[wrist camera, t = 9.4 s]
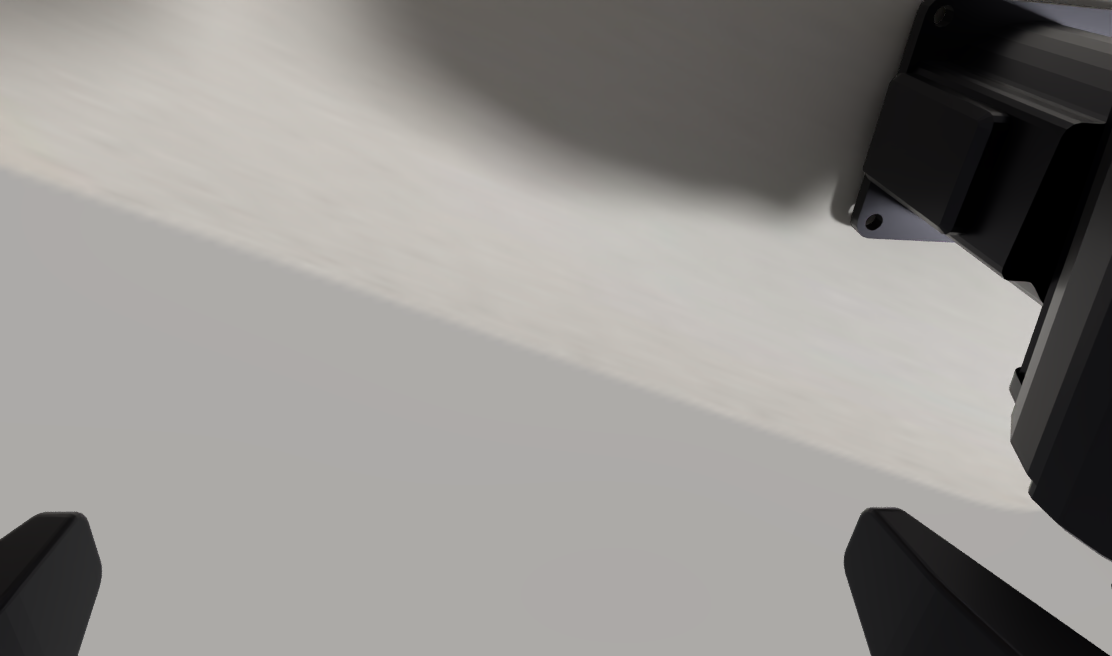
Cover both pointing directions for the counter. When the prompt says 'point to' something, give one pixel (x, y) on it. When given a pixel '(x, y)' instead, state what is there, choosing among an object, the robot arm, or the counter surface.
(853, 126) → the counter surface
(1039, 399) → the robot arm
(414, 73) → the counter surface
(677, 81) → the counter surface
